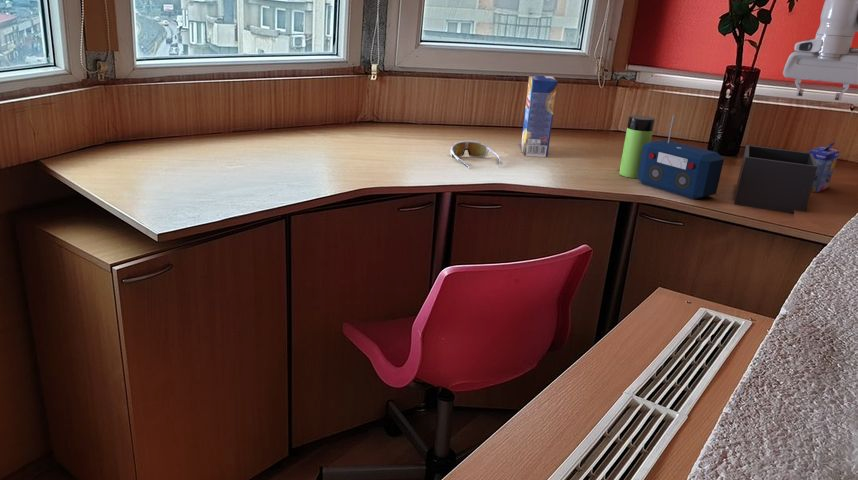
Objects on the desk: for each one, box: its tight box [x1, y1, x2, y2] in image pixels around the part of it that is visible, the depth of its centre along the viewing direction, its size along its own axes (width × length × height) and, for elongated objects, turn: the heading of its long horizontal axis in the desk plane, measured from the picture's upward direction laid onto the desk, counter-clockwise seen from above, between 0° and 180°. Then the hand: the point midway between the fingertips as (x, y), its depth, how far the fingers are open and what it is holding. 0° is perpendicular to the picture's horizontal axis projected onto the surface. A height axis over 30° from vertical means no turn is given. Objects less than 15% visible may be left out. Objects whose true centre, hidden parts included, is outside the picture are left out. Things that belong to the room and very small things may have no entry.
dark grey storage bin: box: [733, 144, 817, 214], centre depth 193 cm, size 17×18×13 cm
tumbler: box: [618, 114, 656, 179], centre depth 212 cm, size 8×8×17 cm
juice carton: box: [520, 74, 558, 158], centre depth 232 cm, size 12×8×24 cm, turn 176°
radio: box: [636, 115, 725, 200], centre depth 198 cm, size 21×9×20 cm, turn 35°
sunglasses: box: [449, 140, 501, 169], centre depth 220 cm, size 14×15×5 cm
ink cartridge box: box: [808, 141, 841, 193], centre depth 205 cm, size 10×6×14 cm, turn 132°
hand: (818, 97), depth 200 cm, fingers open, 8 cm apart
